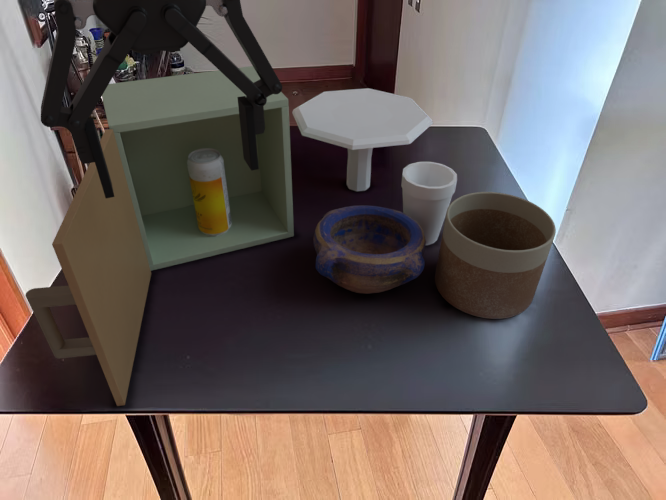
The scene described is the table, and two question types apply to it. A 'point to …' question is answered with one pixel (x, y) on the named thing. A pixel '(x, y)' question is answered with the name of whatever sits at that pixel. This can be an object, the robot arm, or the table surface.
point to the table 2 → (361, 125)
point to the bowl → (369, 248)
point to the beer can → (209, 191)
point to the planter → (493, 253)
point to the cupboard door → (99, 274)
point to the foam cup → (428, 195)
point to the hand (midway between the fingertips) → (183, 177)
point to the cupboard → (172, 154)
